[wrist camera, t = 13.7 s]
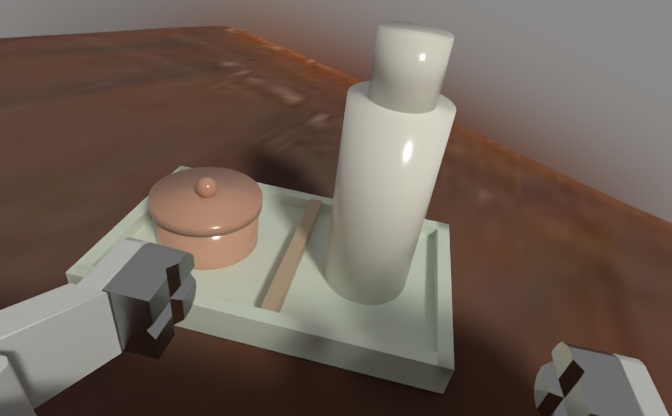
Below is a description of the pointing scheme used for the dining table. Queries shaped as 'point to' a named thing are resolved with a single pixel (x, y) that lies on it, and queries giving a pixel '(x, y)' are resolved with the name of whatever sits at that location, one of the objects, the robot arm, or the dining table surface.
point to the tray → (315, 295)
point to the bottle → (388, 163)
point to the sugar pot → (207, 214)
